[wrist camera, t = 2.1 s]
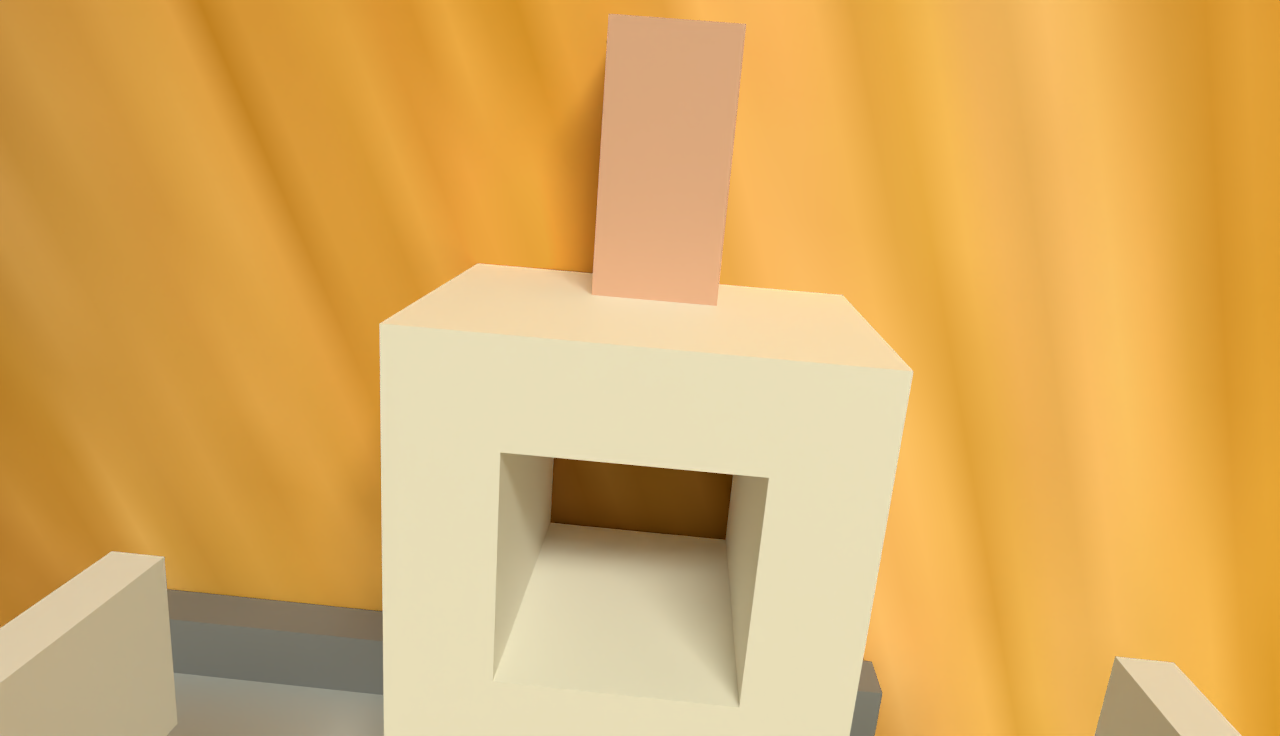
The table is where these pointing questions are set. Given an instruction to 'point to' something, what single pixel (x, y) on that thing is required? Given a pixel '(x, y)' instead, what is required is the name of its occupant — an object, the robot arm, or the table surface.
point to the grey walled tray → (306, 669)
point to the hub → (635, 456)
